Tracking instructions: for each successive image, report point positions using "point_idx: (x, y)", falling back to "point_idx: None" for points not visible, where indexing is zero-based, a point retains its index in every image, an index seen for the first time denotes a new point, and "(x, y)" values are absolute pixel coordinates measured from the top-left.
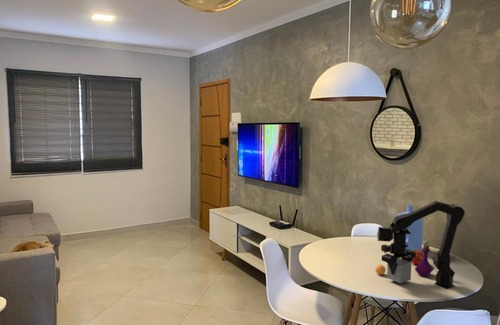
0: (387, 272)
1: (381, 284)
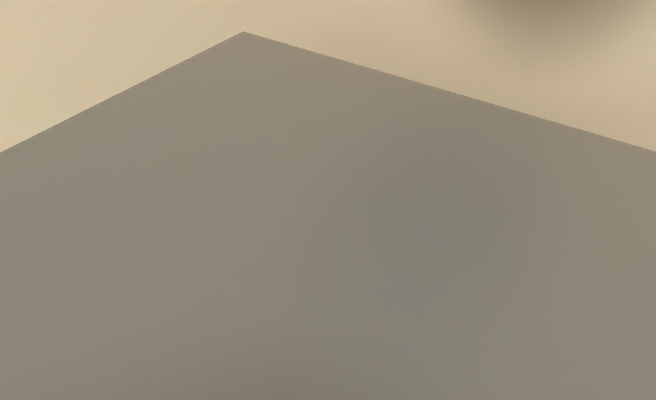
0: (161, 82)
1: (27, 14)
